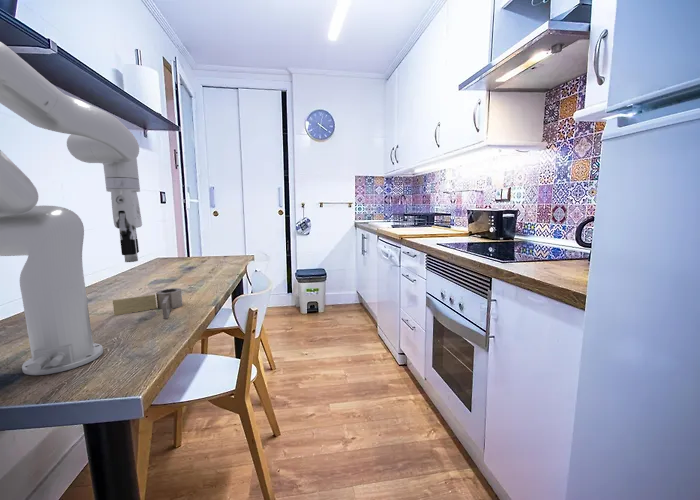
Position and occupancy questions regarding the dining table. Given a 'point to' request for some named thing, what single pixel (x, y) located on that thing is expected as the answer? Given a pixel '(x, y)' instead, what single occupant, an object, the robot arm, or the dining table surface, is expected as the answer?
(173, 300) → the hinge leaf
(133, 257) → the pin
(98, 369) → the dining table surface
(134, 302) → the hinge leaf
